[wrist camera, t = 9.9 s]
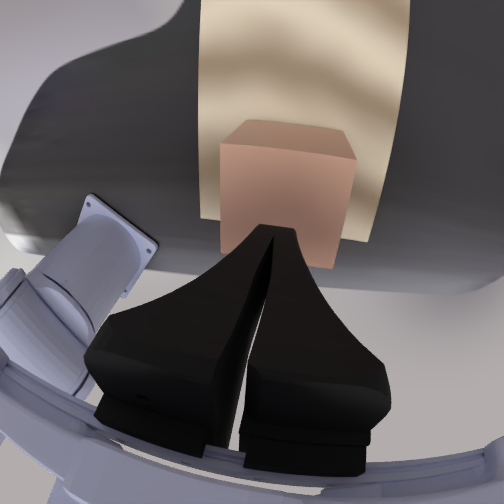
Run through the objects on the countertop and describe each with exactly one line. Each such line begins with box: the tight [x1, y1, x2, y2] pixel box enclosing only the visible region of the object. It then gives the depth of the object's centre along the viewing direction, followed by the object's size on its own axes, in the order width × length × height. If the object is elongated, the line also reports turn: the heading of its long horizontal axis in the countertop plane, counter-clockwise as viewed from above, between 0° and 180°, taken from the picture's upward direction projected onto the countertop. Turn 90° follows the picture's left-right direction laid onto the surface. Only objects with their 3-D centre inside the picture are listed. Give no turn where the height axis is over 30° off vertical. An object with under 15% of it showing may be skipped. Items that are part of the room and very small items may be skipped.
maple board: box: [198, 0, 410, 242], centre depth 15 cm, size 20×12×1 cm, turn 177°
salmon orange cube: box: [220, 120, 357, 269], centre depth 15 cm, size 6×6×6 cm
